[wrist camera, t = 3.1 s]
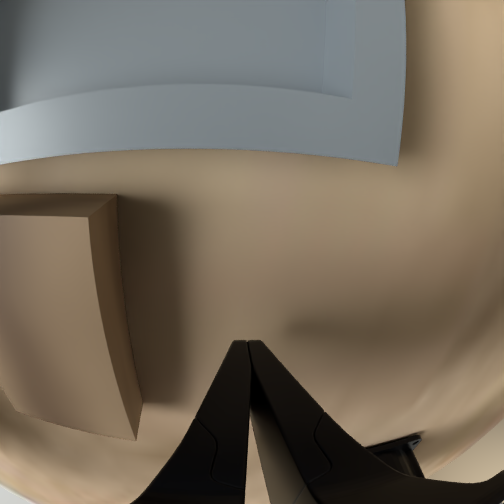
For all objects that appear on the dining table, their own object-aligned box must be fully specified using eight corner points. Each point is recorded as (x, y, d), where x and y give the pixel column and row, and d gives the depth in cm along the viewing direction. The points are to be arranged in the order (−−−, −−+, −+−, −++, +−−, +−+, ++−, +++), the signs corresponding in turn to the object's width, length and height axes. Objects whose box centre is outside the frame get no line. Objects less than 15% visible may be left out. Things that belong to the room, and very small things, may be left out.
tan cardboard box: (121, 190, 8) (88, 217, 6) (144, 395, 12) (136, 441, 9) (-18, 192, 7) (-61, 215, 5) (34, 374, 11) (16, 411, 9)
